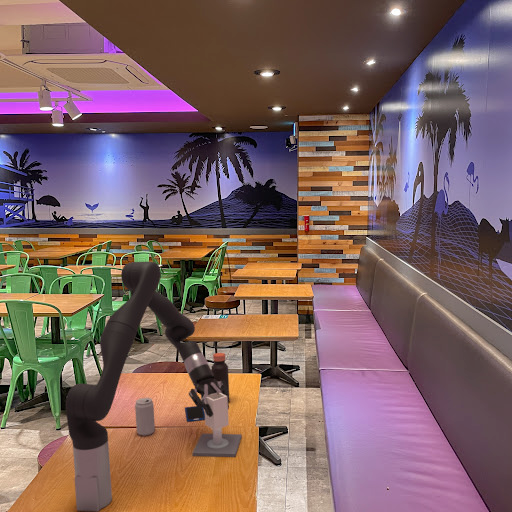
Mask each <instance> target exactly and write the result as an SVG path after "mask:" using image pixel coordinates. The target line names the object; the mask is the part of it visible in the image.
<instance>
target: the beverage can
mask: <svg viewBox="0 0 512 512" xmlns="http://www.w3.org/2000/svg"><path fill="white" fill-rule="evenodd" d="M134 408H135V409H134V411H135V422H136V423H135V424H136V432H137V434H138V435H139V436H144V437H145V436H150V435H152V434H153V433H154V432H155V430H156V429H155V428H156V427H155V426H156V423H155V411H154V409H155V407H154V402H153V399H152V398H151V397H142V398H138V399H136V400H135V404H134Z"/></svg>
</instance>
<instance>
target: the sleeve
mask: <svg viewBox="0 0 512 512" xmlns="http://www.w3.org/2000/svg"><path fill="white" fill-rule="evenodd" d="M206 399H207V401H208V404H209V406H210V408H211V410H212V412H213V415H212V417H209V416H208V415H207V414H206V412H205V411H204V412H205V420H204V421H205V422H204V424H205V426H206V427H208V428H210V429H212V431H213V430H217V429H219V428H222V429H223V428H225V427H228V426H229V424H230V422H229V410H228V405H229V403H228V399H227V396H226V395H224V394H222V393H219V394H218V395H217V392H216V393H213V394H210V395H208V397H206Z"/></svg>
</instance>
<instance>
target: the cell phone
mask: <svg viewBox="0 0 512 512" xmlns="http://www.w3.org/2000/svg"><path fill="white" fill-rule="evenodd" d="M184 411H185V419H186V423H193V422H201V421H205V410H204V408H203V407H197V406H196V405H194V406H186V407H184Z"/></svg>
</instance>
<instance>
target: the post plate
mask: <svg viewBox="0 0 512 512" xmlns="http://www.w3.org/2000/svg"><path fill="white" fill-rule="evenodd" d="M222 429H223V427H222V428H219V429H217V430H213V429H212V433H201V434H200V437H199V439H198V441H197V443H196V445H195V446H194V449H193V451H192V452H191V453H192V457H217V458H219V457H220V458H221V457H223V458H224V457H225V458H227V457H228V458H236V455H237V452H238V450H239V446H240V444H239V443H241V441H242V436H243V435H242V434H239V433H238V434H235V433H222V432H223V431H222ZM240 440H241V441H240Z"/></svg>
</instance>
